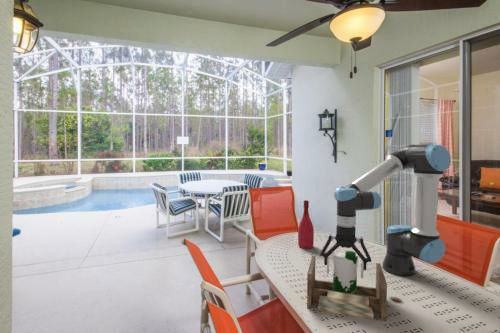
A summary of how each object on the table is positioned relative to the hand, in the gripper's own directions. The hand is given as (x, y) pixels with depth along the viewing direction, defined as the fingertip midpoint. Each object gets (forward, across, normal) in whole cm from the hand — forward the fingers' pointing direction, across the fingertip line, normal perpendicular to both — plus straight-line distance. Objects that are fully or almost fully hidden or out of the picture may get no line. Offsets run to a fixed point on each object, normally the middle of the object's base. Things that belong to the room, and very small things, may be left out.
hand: (344, 274), depth 118 cm
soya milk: (+10, 0, 0) cm, 10 cm away
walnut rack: (+10, 0, -4) cm, 11 cm away
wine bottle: (+10, -23, +57) cm, 62 cm away
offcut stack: (+10, 0, -10) cm, 14 cm away
